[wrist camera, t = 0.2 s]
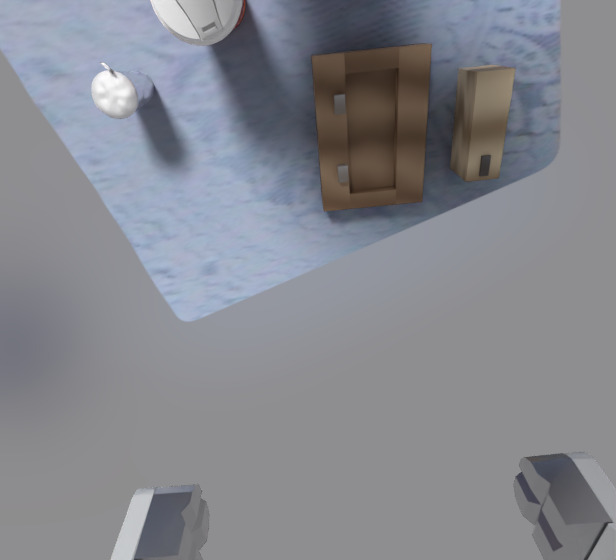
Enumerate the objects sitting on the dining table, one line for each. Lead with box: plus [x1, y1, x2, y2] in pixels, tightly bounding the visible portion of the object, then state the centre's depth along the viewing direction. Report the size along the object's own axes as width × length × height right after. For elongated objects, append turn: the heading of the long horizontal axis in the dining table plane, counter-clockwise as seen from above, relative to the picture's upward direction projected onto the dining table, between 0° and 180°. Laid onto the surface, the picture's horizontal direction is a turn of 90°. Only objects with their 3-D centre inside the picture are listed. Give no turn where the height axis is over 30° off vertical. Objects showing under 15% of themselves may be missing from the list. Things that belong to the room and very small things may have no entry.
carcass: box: [311, 43, 432, 211], centre depth 49 cm, size 18×13×4 cm
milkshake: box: [91, 62, 154, 119], centre depth 43 cm, size 5×5×10 cm
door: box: [450, 65, 515, 182], centre depth 48 cm, size 12×4×6 cm, turn 6°
